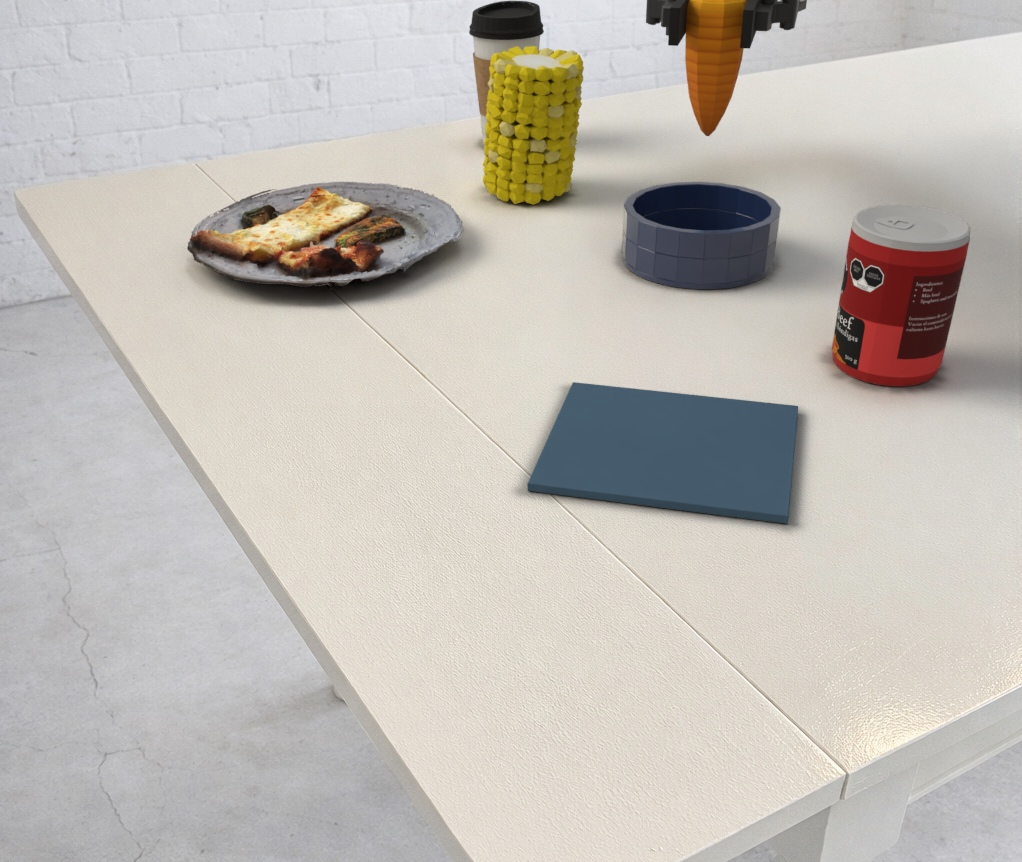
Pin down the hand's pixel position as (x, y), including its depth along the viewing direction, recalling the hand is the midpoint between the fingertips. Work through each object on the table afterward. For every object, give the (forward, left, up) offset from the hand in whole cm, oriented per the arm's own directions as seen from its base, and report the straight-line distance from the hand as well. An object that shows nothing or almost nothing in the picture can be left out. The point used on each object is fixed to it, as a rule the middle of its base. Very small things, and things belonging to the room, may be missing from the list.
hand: (710, 28), depth 86 cm
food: (+19, -21, -21) cm, 35 cm away
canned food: (-16, +12, -21) cm, 29 cm away
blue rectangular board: (-2, +28, -21) cm, 35 cm away
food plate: (+34, -1, -21) cm, 40 cm away
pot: (0, -6, -21) cm, 22 cm away
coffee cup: (+26, -38, -21) cm, 51 cm away
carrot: (0, -5, -10) cm, 11 cm away
